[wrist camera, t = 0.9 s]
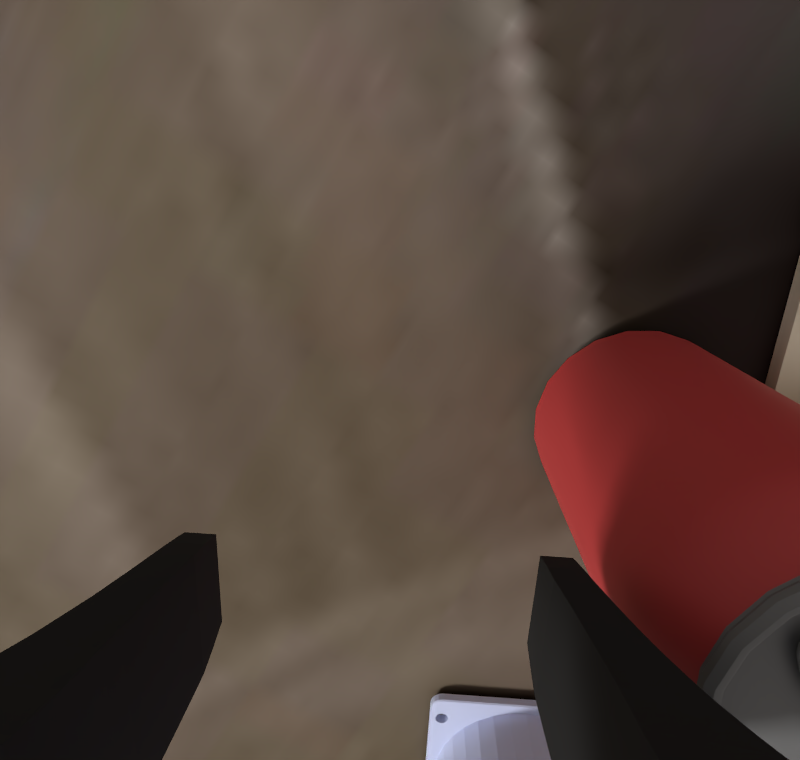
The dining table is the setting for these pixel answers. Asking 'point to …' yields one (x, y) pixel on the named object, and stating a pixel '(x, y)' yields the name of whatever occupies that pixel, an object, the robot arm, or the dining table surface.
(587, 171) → the dining table surface
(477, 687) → the dining table surface
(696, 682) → the beer can
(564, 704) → the robot arm
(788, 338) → the birch tray
